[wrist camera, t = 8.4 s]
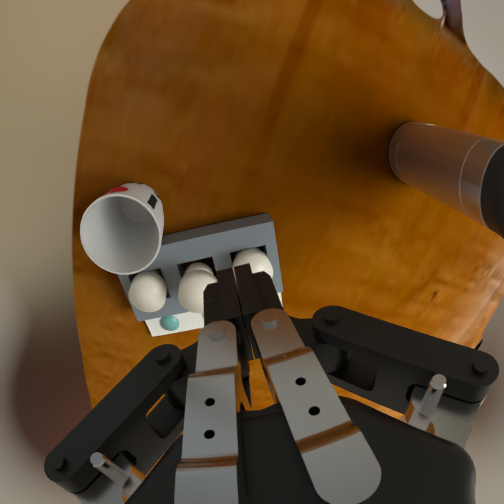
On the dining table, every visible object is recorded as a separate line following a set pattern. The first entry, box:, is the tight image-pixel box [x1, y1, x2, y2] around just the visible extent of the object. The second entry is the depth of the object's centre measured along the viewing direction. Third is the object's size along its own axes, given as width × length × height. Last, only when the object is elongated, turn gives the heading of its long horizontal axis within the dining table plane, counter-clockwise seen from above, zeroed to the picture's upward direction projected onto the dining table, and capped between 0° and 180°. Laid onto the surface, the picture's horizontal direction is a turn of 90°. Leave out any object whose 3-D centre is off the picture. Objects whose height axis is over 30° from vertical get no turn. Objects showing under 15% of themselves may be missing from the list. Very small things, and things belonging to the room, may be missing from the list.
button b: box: [178, 263, 217, 313], centre depth 36 cm, size 5×5×5 cm
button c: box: [128, 268, 167, 312], centre depth 37 cm, size 5×5×5 cm
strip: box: [145, 292, 283, 337], centre depth 43 cm, size 20×4×1 cm, turn 100°
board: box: [117, 213, 283, 321], centre depth 39 cm, size 20×10×3 cm, turn 100°
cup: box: [80, 182, 164, 275], centre depth 31 cm, size 8×8×10 cm
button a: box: [232, 247, 273, 279], centre depth 38 cm, size 5×5×5 cm
